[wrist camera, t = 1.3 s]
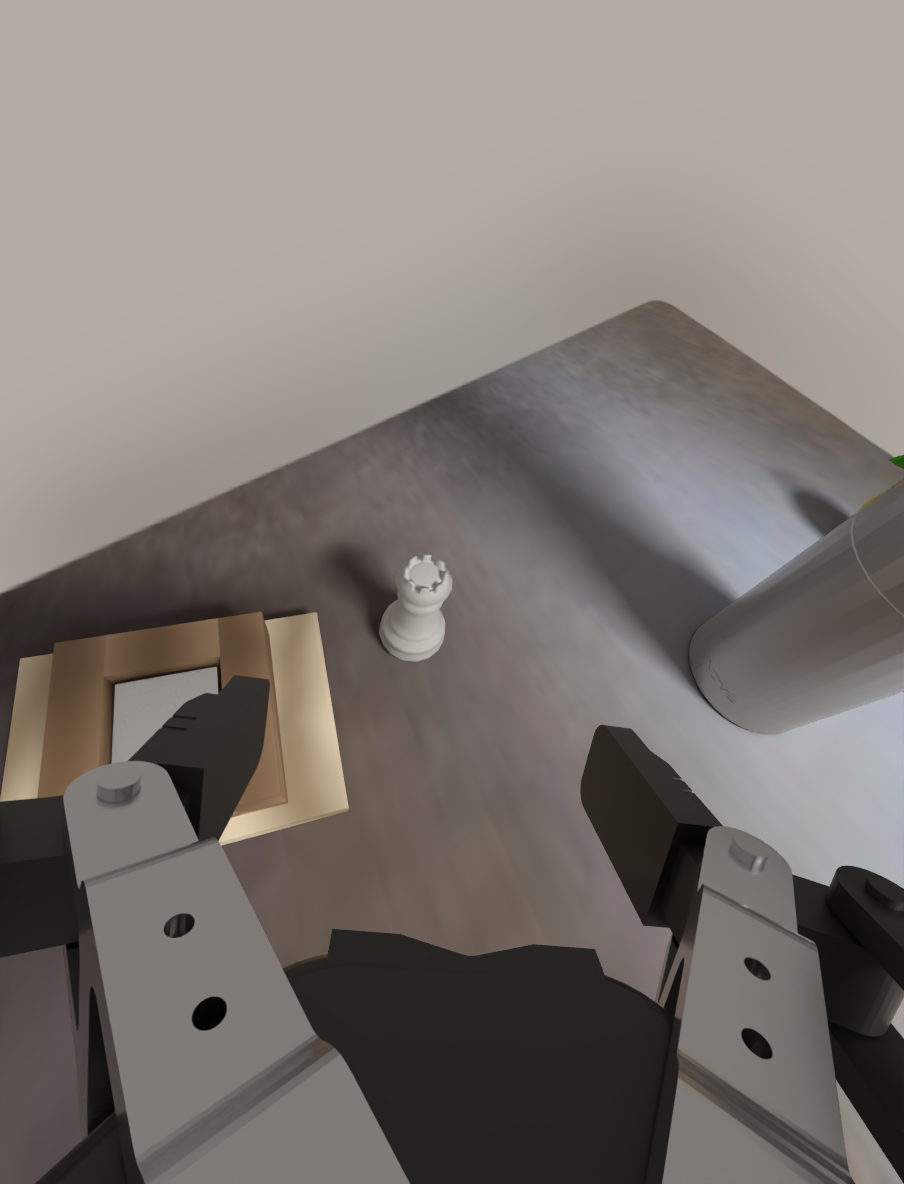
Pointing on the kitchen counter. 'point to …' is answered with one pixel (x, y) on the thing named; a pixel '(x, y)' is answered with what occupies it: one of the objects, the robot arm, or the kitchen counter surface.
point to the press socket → (232, 644)
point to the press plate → (154, 706)
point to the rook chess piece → (417, 609)
